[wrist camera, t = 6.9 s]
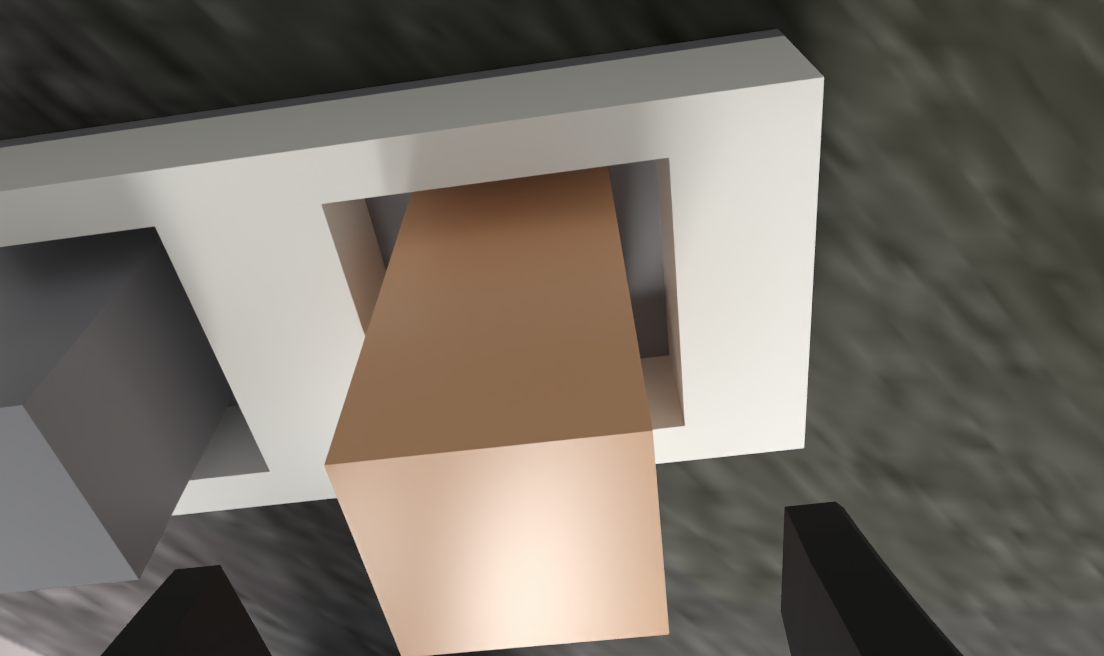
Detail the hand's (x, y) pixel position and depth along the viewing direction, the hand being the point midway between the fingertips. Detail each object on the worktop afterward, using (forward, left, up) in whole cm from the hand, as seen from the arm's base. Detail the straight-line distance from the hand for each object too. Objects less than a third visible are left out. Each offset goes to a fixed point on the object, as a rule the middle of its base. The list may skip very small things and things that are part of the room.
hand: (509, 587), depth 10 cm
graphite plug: (0, +9, -9) cm, 12 cm away
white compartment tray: (0, +4, -9) cm, 10 cm away
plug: (0, 0, -9) cm, 9 cm away
